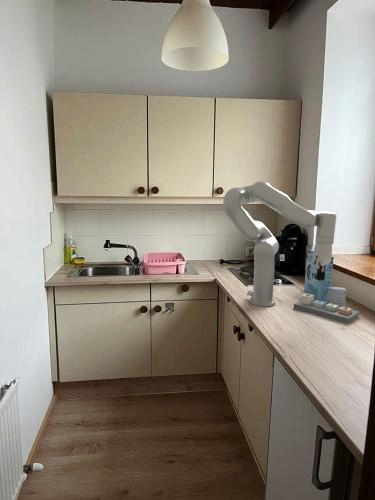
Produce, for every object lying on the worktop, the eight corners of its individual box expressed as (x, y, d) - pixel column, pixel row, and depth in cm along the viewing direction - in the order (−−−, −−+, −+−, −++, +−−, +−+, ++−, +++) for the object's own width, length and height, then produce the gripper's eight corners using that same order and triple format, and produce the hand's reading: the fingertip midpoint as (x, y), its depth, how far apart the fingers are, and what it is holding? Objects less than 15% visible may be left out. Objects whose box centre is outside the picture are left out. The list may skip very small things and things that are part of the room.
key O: (301, 303, 162) (302, 294, 161) (305, 301, 165) (306, 292, 164) (309, 305, 159) (310, 296, 158) (313, 303, 162) (314, 294, 161)
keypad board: (293, 308, 161) (293, 303, 160) (305, 303, 169) (305, 298, 169) (348, 324, 143) (348, 318, 143) (358, 316, 151) (359, 311, 151)
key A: (325, 313, 154) (325, 304, 153) (328, 311, 157) (329, 302, 156) (334, 316, 151) (334, 307, 150) (337, 313, 154) (338, 304, 153)
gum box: (303, 290, 191) (306, 249, 187) (312, 290, 191) (315, 249, 187) (320, 301, 172) (324, 256, 168) (330, 301, 172) (334, 256, 168)
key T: (312, 310, 158) (313, 301, 157) (316, 308, 161) (317, 299, 160) (321, 312, 155) (321, 303, 155) (325, 310, 158) (325, 301, 157)
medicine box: (343, 304, 167) (345, 287, 166) (345, 307, 163) (346, 290, 161) (326, 303, 169) (327, 286, 168) (327, 306, 165) (328, 288, 164)
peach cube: (338, 317, 150) (338, 308, 149) (341, 314, 153) (342, 305, 152) (347, 319, 147) (348, 310, 146) (351, 317, 150) (352, 308, 149)
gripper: (323, 237, 160) (319, 275, 163) (308, 240, 150) (304, 280, 153) (339, 239, 155) (335, 278, 158) (325, 242, 144) (320, 284, 148)
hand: (320, 279), depth 156 cm, fingers closed
